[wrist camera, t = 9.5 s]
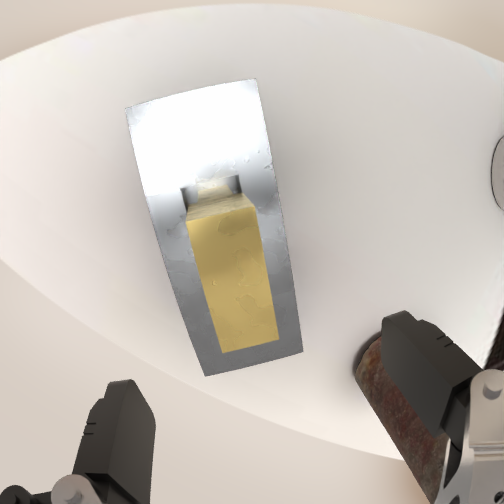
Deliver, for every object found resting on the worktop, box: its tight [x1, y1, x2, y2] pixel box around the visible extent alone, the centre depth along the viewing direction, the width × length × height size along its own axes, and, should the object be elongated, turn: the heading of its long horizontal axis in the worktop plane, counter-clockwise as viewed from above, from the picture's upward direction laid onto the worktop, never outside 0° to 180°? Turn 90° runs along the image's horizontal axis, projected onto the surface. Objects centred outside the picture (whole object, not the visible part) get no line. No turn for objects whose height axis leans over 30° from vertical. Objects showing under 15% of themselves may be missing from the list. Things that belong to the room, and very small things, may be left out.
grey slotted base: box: [125, 78, 303, 376], centre depth 21 cm, size 8×20×3 cm, turn 11°
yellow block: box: [186, 184, 279, 353], centre depth 18 cm, size 3×7×8 cm, turn 11°
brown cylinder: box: [355, 337, 449, 504], centre depth 21 cm, size 8×7×20 cm
